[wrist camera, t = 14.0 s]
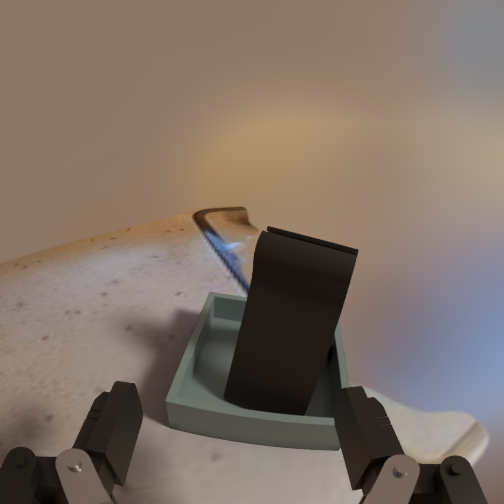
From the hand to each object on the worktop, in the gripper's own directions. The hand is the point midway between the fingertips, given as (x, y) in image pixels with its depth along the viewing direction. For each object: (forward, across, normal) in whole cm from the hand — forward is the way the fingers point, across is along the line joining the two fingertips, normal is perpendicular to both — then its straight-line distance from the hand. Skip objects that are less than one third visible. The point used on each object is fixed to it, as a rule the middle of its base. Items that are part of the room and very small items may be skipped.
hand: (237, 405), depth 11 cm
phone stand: (+11, -3, +8) cm, 14 cm away
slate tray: (+12, -2, +9) cm, 15 cm away
